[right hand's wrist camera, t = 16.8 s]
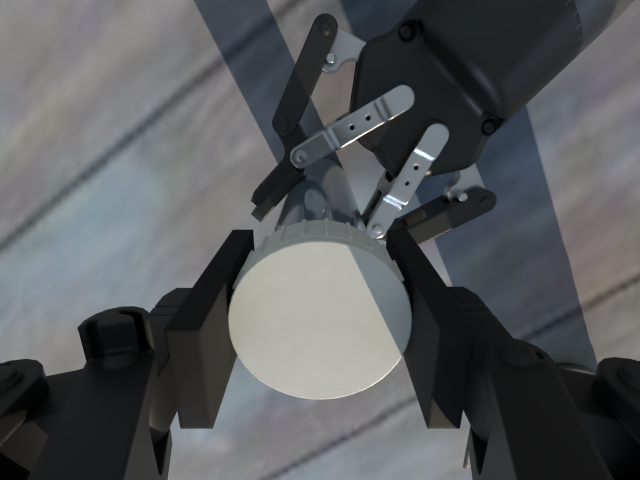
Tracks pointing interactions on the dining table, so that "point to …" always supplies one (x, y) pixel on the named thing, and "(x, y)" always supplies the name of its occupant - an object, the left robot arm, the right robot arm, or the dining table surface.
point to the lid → (319, 310)
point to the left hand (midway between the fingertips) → (289, 240)
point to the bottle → (321, 197)
